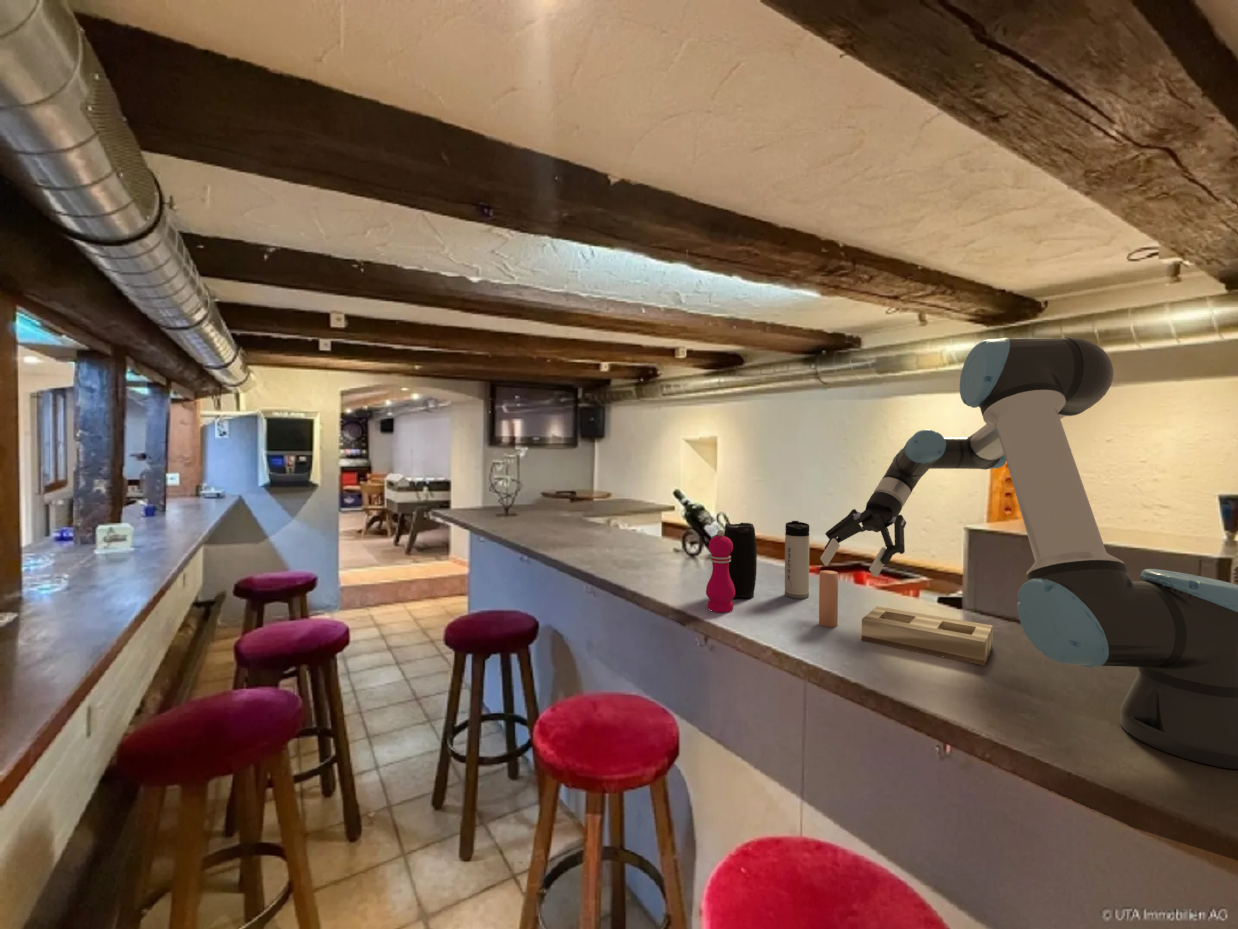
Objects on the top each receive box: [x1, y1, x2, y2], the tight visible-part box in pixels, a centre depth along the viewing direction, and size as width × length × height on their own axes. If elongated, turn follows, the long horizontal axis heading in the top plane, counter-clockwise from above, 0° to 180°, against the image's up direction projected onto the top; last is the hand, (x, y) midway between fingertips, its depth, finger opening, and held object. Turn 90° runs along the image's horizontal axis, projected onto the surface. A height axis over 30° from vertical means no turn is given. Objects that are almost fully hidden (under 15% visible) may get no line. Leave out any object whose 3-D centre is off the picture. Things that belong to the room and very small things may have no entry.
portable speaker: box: [724, 522, 758, 600], centre depth 154 cm, size 9×9×20 cm
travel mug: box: [784, 520, 810, 600], centre depth 154 cm, size 6×7×20 cm
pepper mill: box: [705, 529, 735, 613], centre depth 142 cm, size 7×7×20 cm
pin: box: [818, 570, 839, 628], centre depth 130 cm, size 4×4×12 cm
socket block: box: [860, 605, 994, 666], centre depth 118 cm, size 12×22×4 cm, turn 51°
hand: (847, 567), depth 134 cm, fingers open, 13 cm apart
